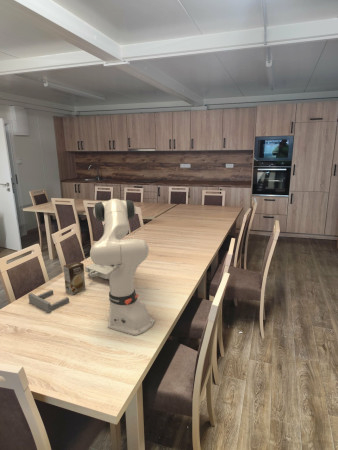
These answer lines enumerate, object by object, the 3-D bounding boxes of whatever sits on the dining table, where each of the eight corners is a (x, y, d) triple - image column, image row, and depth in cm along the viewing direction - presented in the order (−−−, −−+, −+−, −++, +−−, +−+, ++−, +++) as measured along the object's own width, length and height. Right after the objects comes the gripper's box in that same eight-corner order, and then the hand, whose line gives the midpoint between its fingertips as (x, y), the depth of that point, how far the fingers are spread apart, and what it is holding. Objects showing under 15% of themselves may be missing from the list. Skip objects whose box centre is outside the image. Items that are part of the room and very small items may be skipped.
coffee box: (71, 295, 162) (69, 268, 157) (65, 292, 165) (62, 265, 161) (86, 289, 168) (83, 263, 164) (79, 286, 172) (77, 260, 168)
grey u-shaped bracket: (70, 302, 154) (69, 294, 153) (48, 313, 144) (47, 304, 143) (50, 293, 164) (49, 285, 163) (29, 302, 155) (28, 293, 153)
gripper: (95, 259, 189) (77, 266, 178) (117, 266, 177) (99, 274, 166) (96, 268, 190) (78, 276, 180) (118, 276, 179) (100, 284, 168)
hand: (88, 275), depth 173 cm, fingers closed
